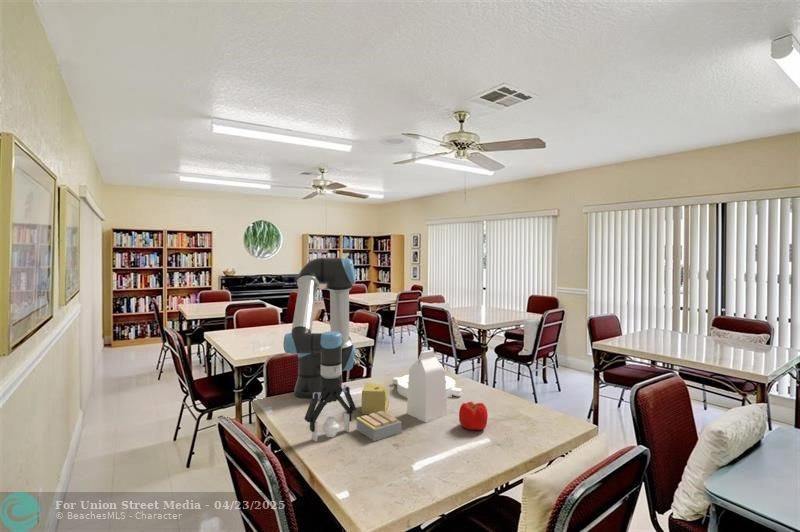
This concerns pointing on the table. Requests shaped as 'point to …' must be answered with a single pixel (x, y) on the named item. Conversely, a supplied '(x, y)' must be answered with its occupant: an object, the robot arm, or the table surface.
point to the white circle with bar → (403, 386)
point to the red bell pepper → (473, 416)
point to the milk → (427, 388)
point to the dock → (378, 425)
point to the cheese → (374, 398)
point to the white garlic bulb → (331, 427)
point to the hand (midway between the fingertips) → (331, 435)
